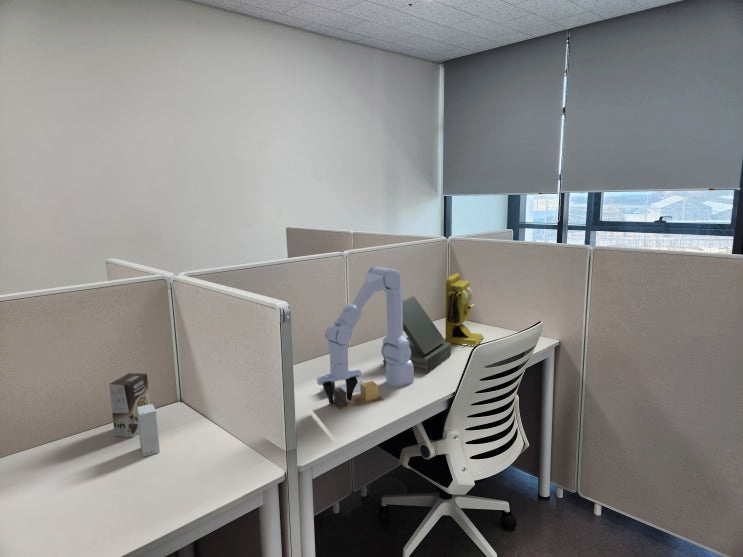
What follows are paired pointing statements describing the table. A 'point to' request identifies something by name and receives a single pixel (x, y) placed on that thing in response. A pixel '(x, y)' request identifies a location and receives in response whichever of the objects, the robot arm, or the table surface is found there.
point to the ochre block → (369, 390)
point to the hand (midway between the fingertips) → (340, 401)
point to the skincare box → (148, 429)
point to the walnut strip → (343, 402)
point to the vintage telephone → (458, 312)
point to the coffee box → (128, 402)
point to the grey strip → (356, 389)
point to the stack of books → (423, 338)
